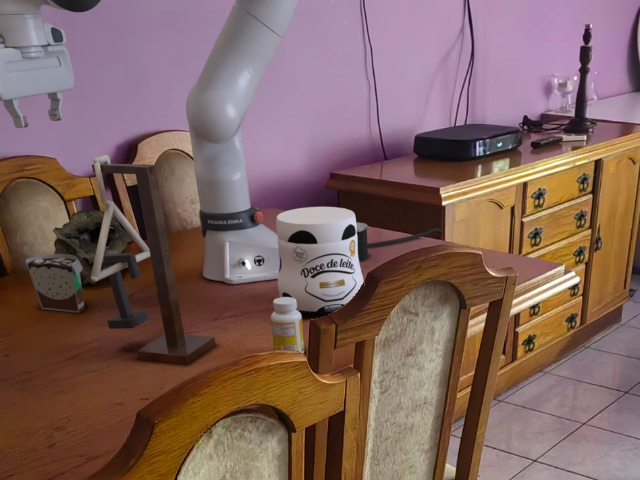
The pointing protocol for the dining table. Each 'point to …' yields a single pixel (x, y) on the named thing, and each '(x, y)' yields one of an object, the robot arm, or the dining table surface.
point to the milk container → (318, 258)
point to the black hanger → (123, 292)
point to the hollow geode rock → (89, 240)
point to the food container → (57, 281)
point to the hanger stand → (174, 341)
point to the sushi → (362, 241)
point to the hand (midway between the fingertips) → (39, 124)
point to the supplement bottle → (287, 325)
